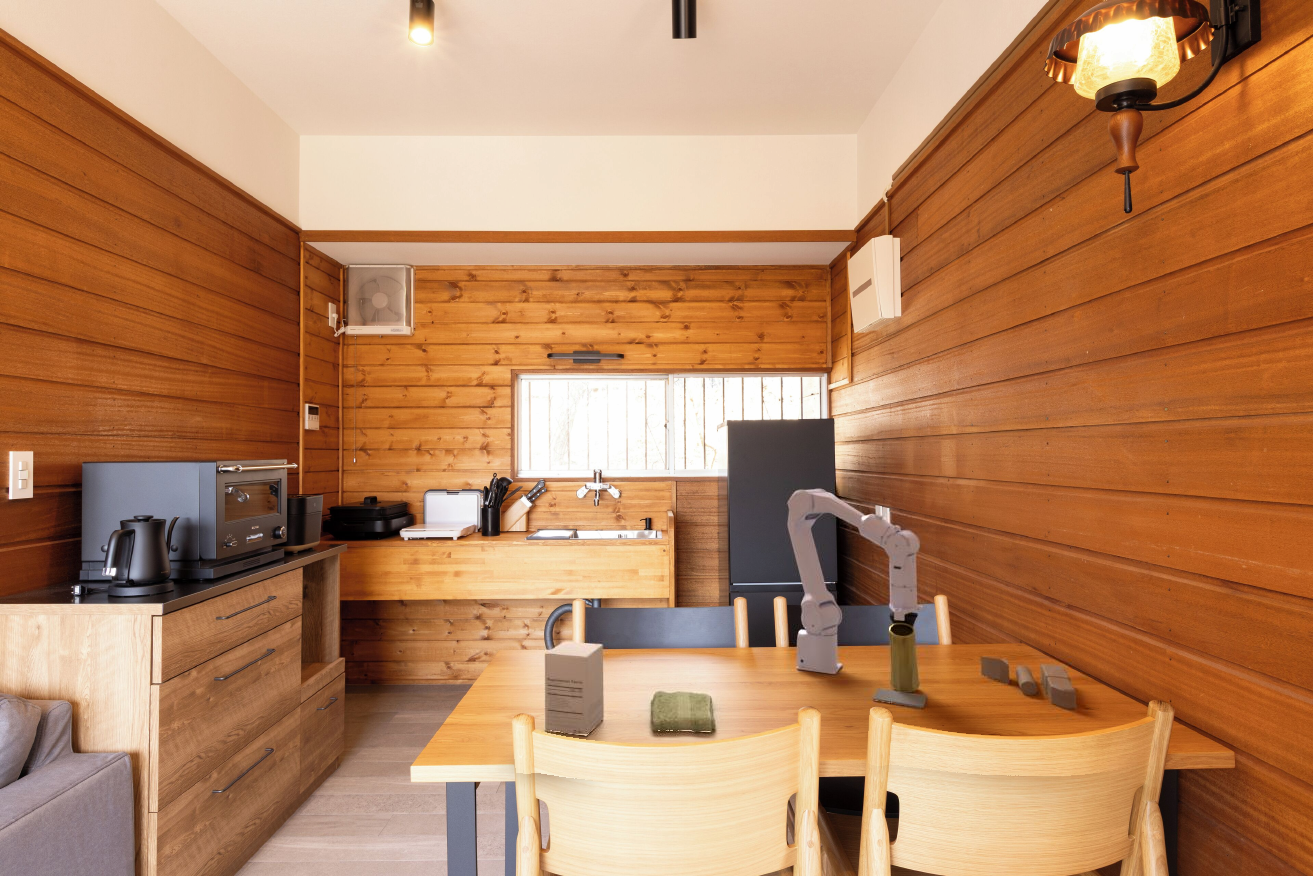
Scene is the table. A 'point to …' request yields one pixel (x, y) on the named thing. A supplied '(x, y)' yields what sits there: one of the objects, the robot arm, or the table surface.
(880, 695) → the mat
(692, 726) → the washcloth
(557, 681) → the supplement box
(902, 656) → the vase
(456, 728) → the table surface
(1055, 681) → the wooden block set
